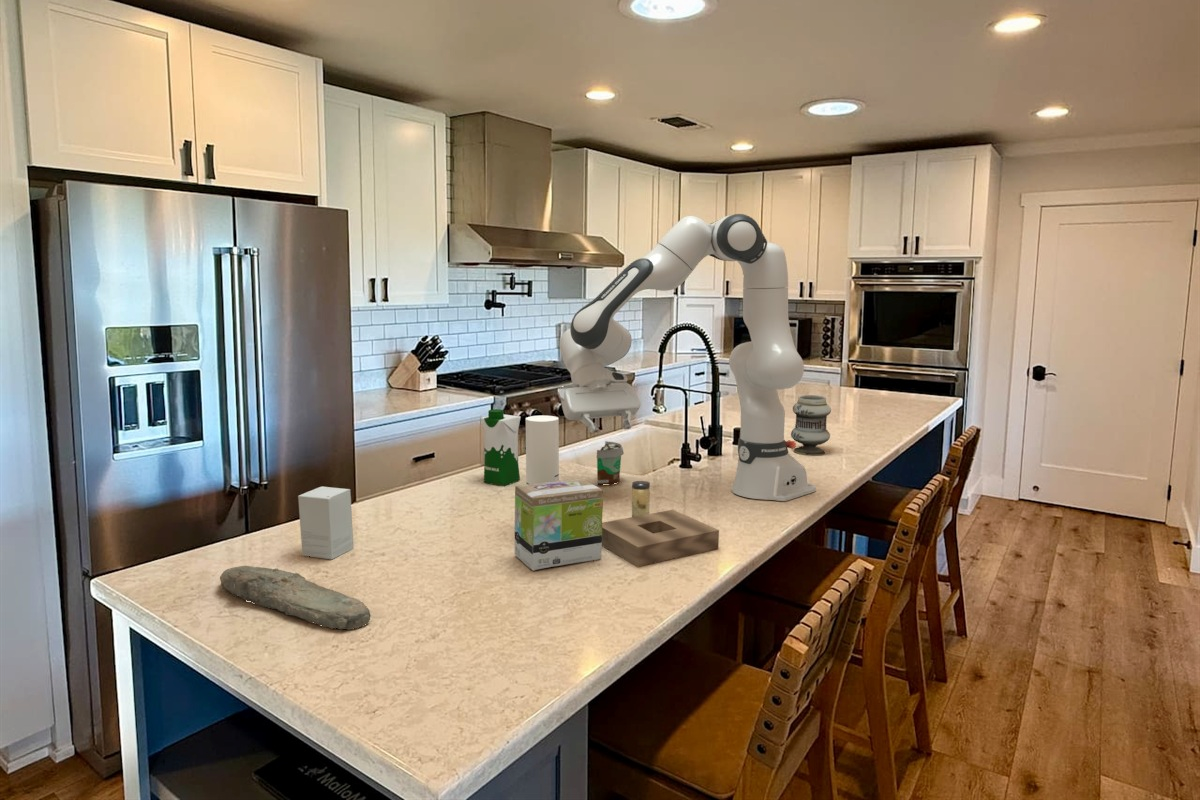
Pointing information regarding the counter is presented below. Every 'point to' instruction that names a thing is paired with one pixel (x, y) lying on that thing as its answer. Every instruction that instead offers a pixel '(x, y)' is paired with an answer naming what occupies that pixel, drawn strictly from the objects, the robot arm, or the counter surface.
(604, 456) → the food container
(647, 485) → the spice jar
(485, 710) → the counter surface
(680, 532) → the socket block
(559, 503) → the tea box
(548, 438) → the cylindrical container
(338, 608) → the elongated rock
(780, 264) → the robot arm
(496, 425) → the milk carton
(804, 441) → the apothecary jar
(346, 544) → the supplement box
